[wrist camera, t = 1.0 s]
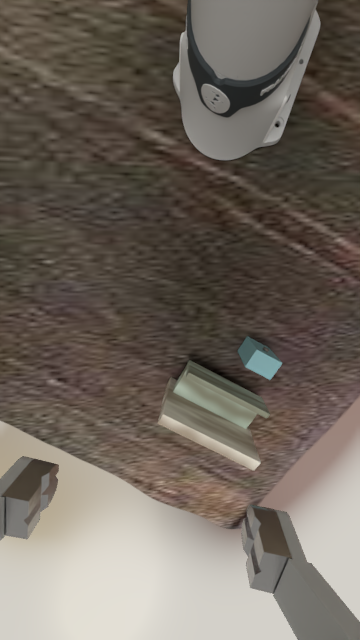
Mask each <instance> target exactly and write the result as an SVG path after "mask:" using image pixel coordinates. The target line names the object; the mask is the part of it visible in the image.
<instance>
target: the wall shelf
mask: <svg viewBox="0 0 360 640" xmlns="http://www.w3.org/2000/svg"><path fill="white" fill-rule="evenodd" d="M257 414H259V415H261V416H263V417H265V418H268V416H269V415H270V413H269V411H268V409H267V407H266V405H265V403H264V401H263V399H262V397H260V396H258V395H256V394H254V393H252V392H250V391H248V390H246V389H244V388H242V387H240V386H239V385H237V384H235V383H233V382H231V381H229V380H227V379H225V378H223V377H221V376H219V375H217V374H215V373H213V372H212V371H210V370H208V369H206V368H204V367H202V366H200V365H198V364H196V363H194V362H192V361H190V360H189V362H188V364H187V365H186V367H185V369H184V370H183V372H182V374H181V375H180V377H179V379H178V380H176V379H174V378H172V377H170V379H169V381H168V383H167V385H166V389H165V393H164V398H163V402H162V407H161V411H160V415H159V420H158V424H160V425H162V426H164V427H166V428H168V429H170V430H172V431H174V432H176V433H178V434H180V435H182V436H184V437H186V438H188V439H190V440H192V441H194V442H196V443H198V444H200V445H202V446H204V447H207V448H209V449H211V450H213V451H215V452H217V453H219V454H221V455H223V456H225V457H227V458H229V459H231V460H233V461H235V462H237V463H239V464H241V465H243V466H245V467H247V468H249V469H251V470H253V471H254V470H255V469H256V468H257V467H258V465H259V464H260V463H261V462H260V459H259V456H258V453H257V450H256V447H255V444H254V441H253V438H252V435H251V432H250V429H249V424H250V423H251V422H252V420H253V419H254V418H255V416H256V415H257Z"/></svg>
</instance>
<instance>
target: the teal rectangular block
mask: <svg viewBox="0 0 360 640" xmlns="http://www.w3.org/2000/svg"><path fill="white" fill-rule="evenodd" d="M238 353H239V355H240V357H241V359H242V361H243V363H244V366H245V367H246V368H248V369H250V370H252V371H254V372H256V373H258V374H260V375H262V376H264V377H266V378H267V379H269V380H271V378H272V377H273V376H274V374H275V373H276V371H277V370H278V369H279V367H280V366H281V365H282V362H281V361H280V360H279V359H278V357H277V356H276V355H275V354H274V353H273V352H272V351H271V349H270V348H269V347H267V346H265V345H263V344H261V343H259V342H257V341H255V340H254V339H252V338H250V337H248V336H247V337H246V339H245V340H244V342H243V343H242V345H241V346H240V348H239V349H238Z"/></svg>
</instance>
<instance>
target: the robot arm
mask: <svg viewBox="0 0 360 640" xmlns="http://www.w3.org/2000/svg"><path fill="white" fill-rule="evenodd" d="M317 3H318V0H188V6H187V16H186V30H185V32H183V33H182V34H181V38H180V59H179V63H178V65H177V66H176V68H175V70H174V72H173V84H174V87H175V90H176V92H177V94H178V96H179V98H180V102H181V111H182V120H183V125H184V128H185V131H186V133H187V136H188V137H189V139H190V141H191V142H192V144H193V145H194V146H195V147H196V148H197V149H198V150H199V151H200V152H201V153H203V154H204V155H206V156H208V157H210V158H213V159H217V160H233V159H237V158H240V157H242V156H244V155H246V154H248V153H249V152H251V151H253V150H254V149H256V148H258V147H264V146H270V145H274V144H276V143H277V142H278V141H279V140H280V138H281V136H282V134H283V131H284V128H285V125H286V123H287V120H288V117H289V114H290V111H291V108H292V106H293V103H294V100H295V97H296V94H297V92H298V89H299V86H300V83H301V80H302V78H303V75H304V72H305V69H306V66H307V64H308V61H309V58H310V55H311V52H312V50H313V47H314V44H315V41H316V38H317V36H318V33H319V30H320V25H321V24H320V19H319V16H318V13H317V11H316V6H317ZM275 124H278V125H279V127H278V128H277V127H275ZM58 469H59V465H58V464H54V463H50V462H46V461H42V460H38V459H33V458H29V457H24V456H23V457H21V458H20V459H18V460H17V461H16V462H15V464H14V465H13V466H12V467H11V468H10V469H9V470H8V471H7V472H6V473H5V474H4V475H3V476H2V478H1V479H0V540H1V539H2V538H4V535H7V536H12V537H18V538H23V539H28V538H29V536H30V534H31V533H32V531H33V530H34V528H35V526H36V525H37V523H38V522H39V520H40V512H41V511H42V510H44V509H45V508H47V507H48V505H49V503H50V502H51V500H52V498H53V496H54V494H55V491H56V488H57V483H58V479H57V477H56V476H55V475H56V474H57V472H58ZM247 515H248V517H246V518H245V519H244V521H243V524H242V544H243V549H244V551H245V552H246V554H247V555H248V559H247V562H246V566H247V573H248V578H249V583H250V588H253V589H257V590H261V591H265V592H269V593H273V594H274V595H273V596H274V598H275V599H276V601H277V603H278V605H279V607H280V608H281V610H282V612H283V614H284V616H285V617H286V619H287V621H288V623H289V625H290V626H291V628H292V630H293V632H294V634H295V635H296V637H297V639H298V640H360V622H359V620H358V619H357V618H356V617H355V616H354V614H353V613H352V612H351V611H350V610H349V608H348V607H347V606H346V605H345V603H344V602H343V601H342V600H341V599H340V597H339V596H338V595H337V594H336V593H335V591H334V590H333V589H332V588H331V586H330V585H329V584H328V583H327V582H326V581H325V579H324V578H323V577H322V576H321V574H320V573H319V572H318V571H317V570H316V568H315V567H314V566H313V565H312V563H308V562H307V560H306V558H305V555H304V552H303V550H302V547H301V545H300V542H299V539H298V537H297V534H296V532H295V529H294V527H293V524H292V521H291V519H290V516H289V515H288V514H287V512H284V511H279V510H274V509H270V508H266V507H260V506H255V505H249V506H248V509H247Z"/></svg>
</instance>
